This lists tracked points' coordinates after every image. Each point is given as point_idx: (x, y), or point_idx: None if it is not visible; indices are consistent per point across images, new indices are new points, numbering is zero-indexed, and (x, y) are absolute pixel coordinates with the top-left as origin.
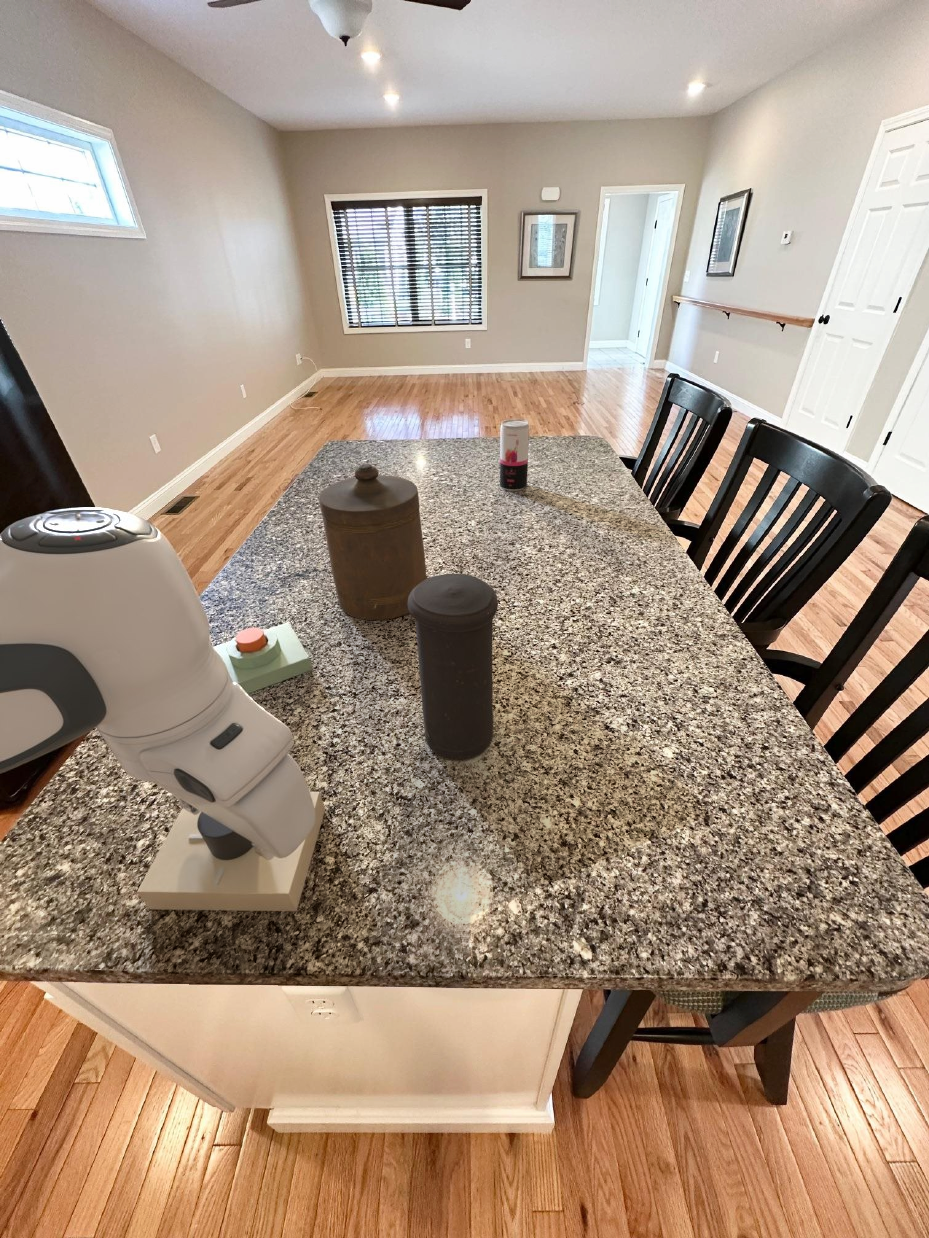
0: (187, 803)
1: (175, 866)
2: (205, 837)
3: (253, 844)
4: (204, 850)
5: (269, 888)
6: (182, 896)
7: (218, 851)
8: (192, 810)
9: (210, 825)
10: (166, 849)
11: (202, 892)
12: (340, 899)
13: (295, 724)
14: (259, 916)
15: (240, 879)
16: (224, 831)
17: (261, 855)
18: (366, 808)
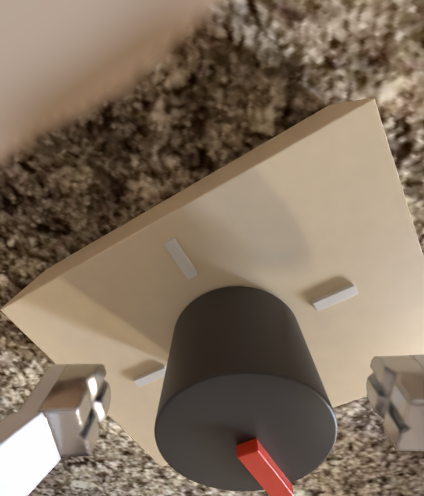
0: (420, 404)
1: (321, 215)
2: (235, 362)
3: (68, 409)
4: (282, 282)
5: (46, 297)
6: (238, 169)
7: (209, 316)
8: (390, 373)
9: (251, 402)
10: (392, 233)
11: (181, 207)
12: (6, 318)
13: (356, 484)
14: (96, 227)
15: (126, 278)
16: (183, 408)
17: (67, 372)
18: (113, 433)
